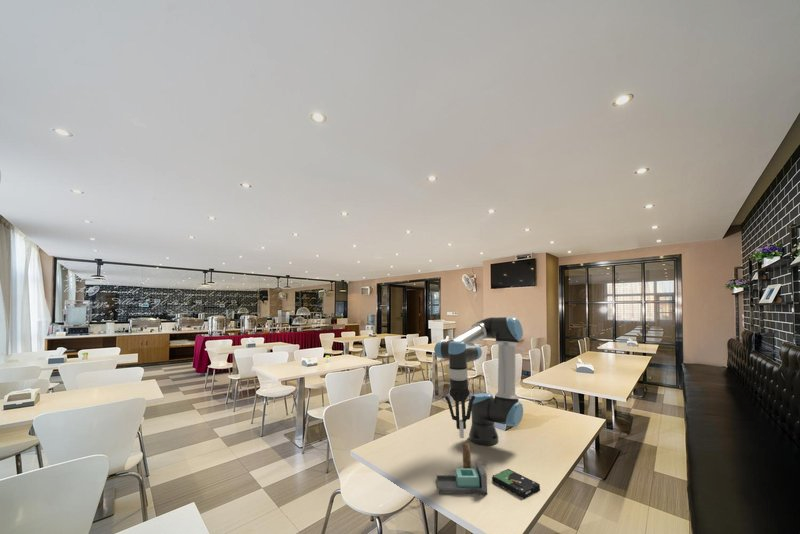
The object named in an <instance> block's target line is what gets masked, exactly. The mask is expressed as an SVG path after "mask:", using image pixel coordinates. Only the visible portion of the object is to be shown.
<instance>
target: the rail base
mask: <svg viewBox="0 0 800 534" xmlns="http://www.w3.org/2000/svg"><path fill="white" fill-rule="evenodd" d="M475 469H476V471H477V473H478V476H479V483H480V487H458V485H457V481H456V474H455V475H453V474H448V475H447V474H443V475H442V474H437V475H436V484H437V490H438V495H488V482H487V481H488V479H487V476H488V475H487V472H486V469H485V467H484V465H483V463H482V462H481V461H475Z"/></svg>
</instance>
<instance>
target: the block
mask: <svg viewBox="0 0 800 534" xmlns="http://www.w3.org/2000/svg"><path fill="white" fill-rule="evenodd" d="M455 475H456V481H457V485H458V487H480V483H479V476H478V473H477V471H476V468H471V469H469V468H463V467H461V468H457V467H456V468H455Z"/></svg>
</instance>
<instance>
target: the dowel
mask: <svg viewBox="0 0 800 534" xmlns="http://www.w3.org/2000/svg"><path fill="white" fill-rule="evenodd" d="M461 445H462V468H469V469H472V463H471V462H472V460H471V459H472V458H471V456H472V455H471V444H470V443H469V442H463V443H461Z"/></svg>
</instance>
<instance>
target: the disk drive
mask: <svg viewBox="0 0 800 534" xmlns="http://www.w3.org/2000/svg"><path fill="white" fill-rule="evenodd" d="M491 482H492V483H494V484H496V485H498V486H500V487H502V488H504V489H506V490H507V491H508V492H510V493H513V494H514V495H516V496H517V497H519V498H521V499H526V498H527V497H530V496H531V495H532V496H533V494H536V493H538V492H540V491H541V485H540V483H538V482H537V481H534V480H533V479H530V478H528V477H526V476H523V475H521V474H520V473H517V472H516V471H514V470H511V469H509V468H507V469H504V470H502V471H500V472H498V473H496V474H493V475H492V476H491Z"/></svg>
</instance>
